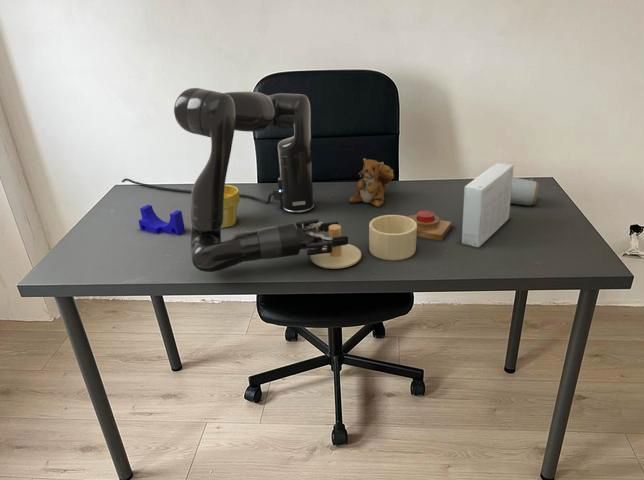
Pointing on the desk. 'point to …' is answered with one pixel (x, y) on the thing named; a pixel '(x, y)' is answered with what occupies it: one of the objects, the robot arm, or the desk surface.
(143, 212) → the blue cradle stand
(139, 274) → the desk surface
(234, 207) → the flower pot
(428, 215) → the button
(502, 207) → the skincare box
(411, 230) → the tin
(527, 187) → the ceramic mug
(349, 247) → the lid
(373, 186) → the stuffed squirrel
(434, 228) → the button block
